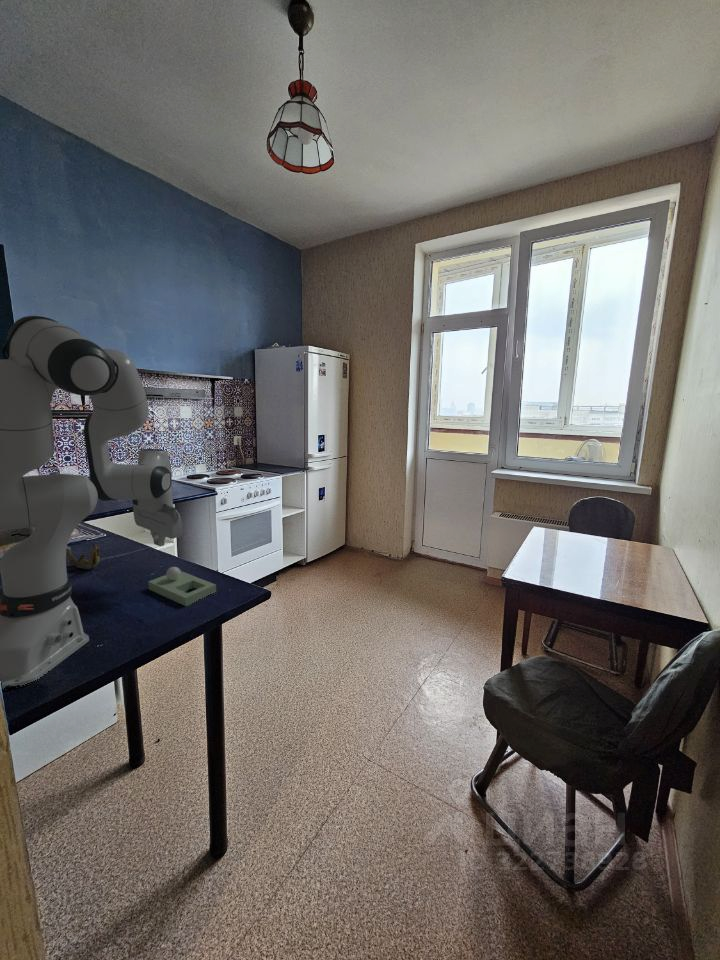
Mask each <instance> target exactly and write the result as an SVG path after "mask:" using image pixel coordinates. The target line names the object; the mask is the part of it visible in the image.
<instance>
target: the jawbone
mask: <svg viewBox="0 0 720 960" xmlns="http://www.w3.org/2000/svg"><path fill="white" fill-rule="evenodd" d="M92 546H93V547H94V548H95V549H94V550H90V552H89V555H90V559H89V560H88V559H87V556H86V555H85V554H84V553H82V554H81V555H80V557H79V559H77V558H76V557H75V556H74V554H73V553H72V551H71V552H70V551H69V549H67V555H66V557H67V559H68V560H66V563H68V564H70V565H72V566H74V567H76V568H80V569H83V570H91V569H95V568H96V567H97V566H98V565H99V564H100V562H101V559H100V544H99V542H97V545H96V543H93V544H92Z"/></svg>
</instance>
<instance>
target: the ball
mask: <svg viewBox="0 0 720 960" xmlns="http://www.w3.org/2000/svg"><path fill="white" fill-rule="evenodd" d="M181 571H182V570H181V569H180V568H179V567H177V566H171V567H169V568H168V569H167V570H166V572H165V575H166V577H167V578H168V579H169V580H176V579H178V578H179V577H180V574H181Z"/></svg>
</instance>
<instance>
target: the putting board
mask: <svg viewBox="0 0 720 960" xmlns="http://www.w3.org/2000/svg"><path fill="white" fill-rule="evenodd" d="M180 571H181V574H180V577H179V578H178V579H176V580H169V579H168V578H167V577H166V574H165V575H161V576H160V577H157V578H154V579H151V580H148V582H147V583H148V584H147V585H148V590H150V591H151V592H154V593H156V594H158V595H160V596H162V597H164V598H167V599H169V600H171V601H173V602H175V603H178V604H181V605H182V606H184V607H189V606H190V605H192V603H193V604H195V603H196V601H197V602H198V600H199V599H201V600H203V599H205V598H207V597H206V596H208V595H210V594H212V595H214V594H216V593H217V584H215V583H213V582H210V581H208V580H205V579H202V578H199V577H197V576H195V575H193V574H191V573H187V572H184V571H182V570H180ZM195 588H196V589H195ZM189 589H190V590H191V589H194V590H192V591H190V590H189ZM187 591H190V592H187ZM215 592H216V593H215ZM213 593H214V594H213ZM210 596H211V595H210ZM204 597H205V598H204ZM208 597H209V596H208ZM202 598H203V599H202ZM199 601H200V600H199ZM194 602H195V603H194Z"/></svg>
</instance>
